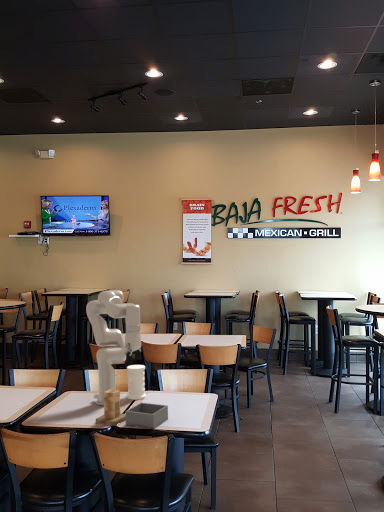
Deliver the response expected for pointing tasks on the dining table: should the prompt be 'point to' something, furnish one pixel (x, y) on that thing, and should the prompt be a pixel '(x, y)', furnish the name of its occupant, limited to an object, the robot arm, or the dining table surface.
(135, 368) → the decorative container
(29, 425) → the dining table surface
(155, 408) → the charcoal bin
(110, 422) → the stud block
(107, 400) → the oak strut
